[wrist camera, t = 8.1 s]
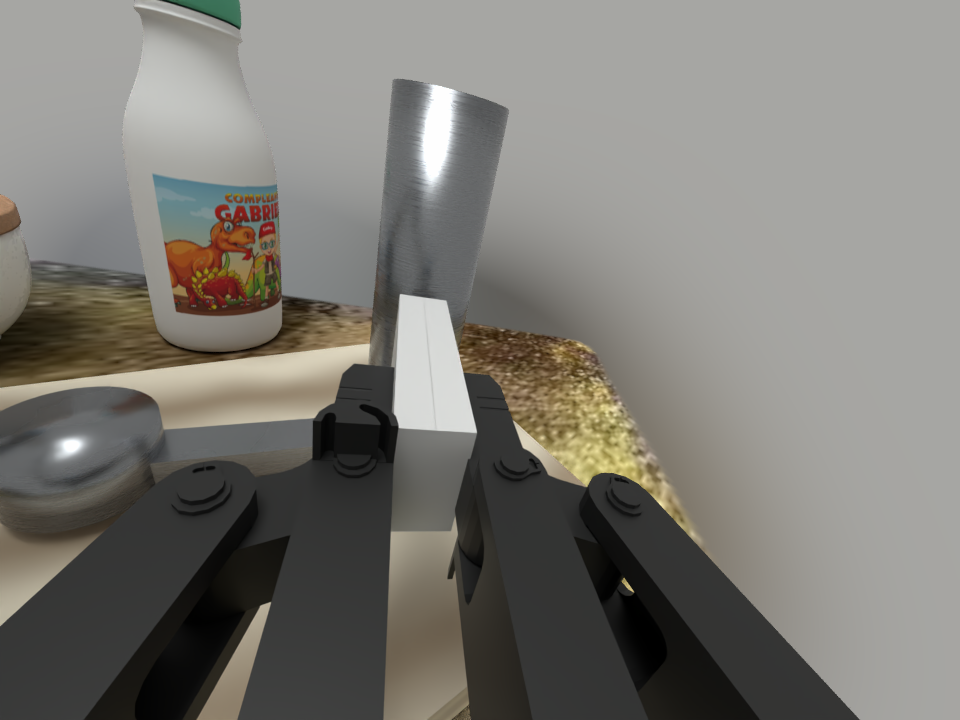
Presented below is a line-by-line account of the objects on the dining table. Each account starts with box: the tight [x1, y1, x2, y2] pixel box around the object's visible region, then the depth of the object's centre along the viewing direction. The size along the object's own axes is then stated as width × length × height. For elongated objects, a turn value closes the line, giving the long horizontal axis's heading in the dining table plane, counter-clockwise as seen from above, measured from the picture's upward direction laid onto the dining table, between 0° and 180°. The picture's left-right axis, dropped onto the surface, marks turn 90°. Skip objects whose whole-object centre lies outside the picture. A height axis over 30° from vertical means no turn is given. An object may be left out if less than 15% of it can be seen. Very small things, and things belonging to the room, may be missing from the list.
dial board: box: [0, 344, 586, 720], centre depth 17 cm, size 20×24×2 cm
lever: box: [0, 79, 509, 533], centre depth 13 cm, size 16×4×14 cm, turn 112°
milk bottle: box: [122, 0, 282, 352], centre depth 24 cm, size 8×8×20 cm
